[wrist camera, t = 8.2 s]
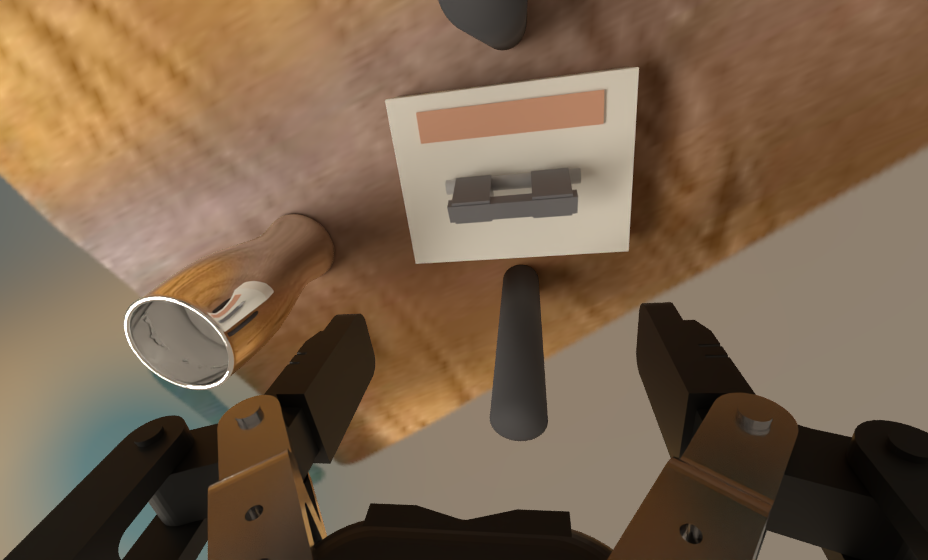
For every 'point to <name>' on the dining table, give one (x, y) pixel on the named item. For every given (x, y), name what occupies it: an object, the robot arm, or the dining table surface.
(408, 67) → the dining table surface
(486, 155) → the breaker panel
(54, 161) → the dining table surface
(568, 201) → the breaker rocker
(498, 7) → the cable post near arm
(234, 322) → the beer glass
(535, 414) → the post
